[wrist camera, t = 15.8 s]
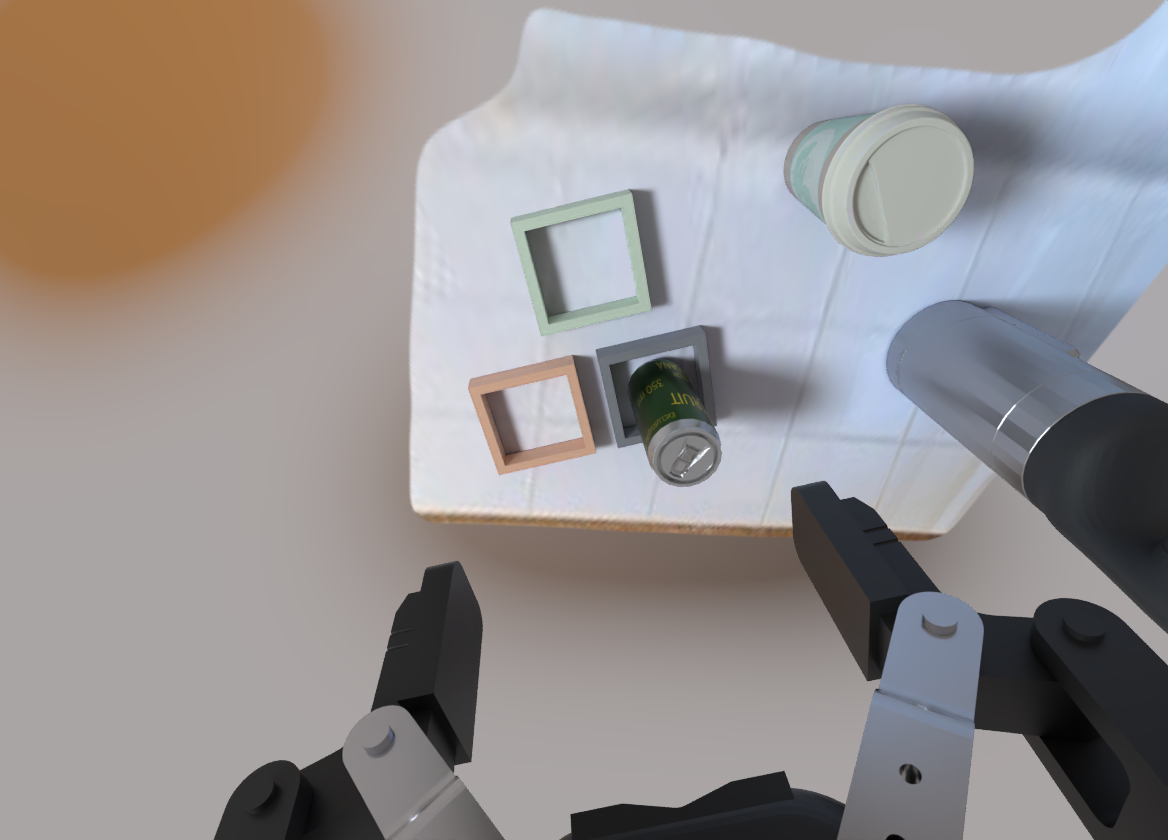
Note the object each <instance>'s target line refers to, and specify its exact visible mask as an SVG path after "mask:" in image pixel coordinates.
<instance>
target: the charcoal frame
mask: <svg viewBox="0 0 1168 840" xmlns="http://www.w3.org/2000/svg"><path fill="white" fill-rule="evenodd" d="M692 345H693V348H694V355H695V363H696V370H697V377H698V385H699V392H700V399H701V403H702V404H703V406H704V408H705V410H706V412H707V414H708V416H709V418H710V420H711V421H712V423H713V425H714V426H717V422H716V414H715V406H714V398H713V390H712V382H711V374H710V366H709V358H708V349H707V341H706V333H705V332H704V330H703V329H702V327H701V326H695V327H691V328H687V329H682V330H678V331H674V332H670V333H665V334H661V335H657V336H652V337H648V338H644V339H640V340H635V341H631V342H627V343H623V344H618V345H614V346H610V347H605V348H601V349H597V350H596V354H597V358H598V362H599V367H600V371H601V376H602V380H603V385H604V389H605V393H606V398H607V402H608V407H609V411H610V415H611V420H612V424H613V429H614V433H615V438H616V442H617V446H618V448H621V447H625V446H630V445H634V444H638V443H643V441H642V438H641V434H640V431H639V428H638V425H636V426H631V427H627V428H623V427H622V422H621V417H620V413H619V408H618V404H617V399H616V394H615V390H614V385H613V380H612V376H611V371H610V367H609V365H610V364H615V363H619V362H623V361H628V360H632V359H636V358H641V357H645V356H649V355H653V354H658V353H662V352H666V351H671V350H675V349H679V348H684V347H688V346H692Z"/></svg>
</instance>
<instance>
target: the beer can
mask: <svg viewBox="0 0 1168 840" xmlns="http://www.w3.org/2000/svg"><path fill="white" fill-rule="evenodd" d="M628 396H629V399H630V402H631V405H632V409H633V412H634V415H635V418H636V422H637V425H638V428H639V431H640V434H641V438H642V441H643V444H644V447H645V451H646V454H647V457H648V460H649V464H650V466H651V468H652V469H653V470H654V471H655V473H656V474H657V475H658V476H659V477H660V479H661V480H663V481H664V482H666V483H668V484H669V485H673V486H678V487H688V486H693V485H696V484H699V483H701V482H703V481H705V480H706V479H708V478H709V477H710V476H711V475H712V474H713V473H714V472H715V471H716V470H717V468H718V466H719V464H720V462H721V455H722V452H721V442H720V438H719V435H718V433H717V431H716V429H715V427H714V425H713V423H712V421H711V420H710V418H709V416H708V414H707V412H706V410H705V408H704V406H703V404H702V403H701V401H700V399H699V397H698V395H697V393H696V391H695V389H694V387H693V385H692V384H691V382H690V380H689V378H688V376H687V374H686V373H685V371H684V370H683V368H682V367H681V366H679V365H678V364H676V363H675V362H672V361H669V360H665V359H655V360H651V361H648V362H645V363H644V364H642V365H641V366H639V367H638V368H637V370H636V371H635V372H634V373H633V374H632V376H631V378H630V381H629V383H628Z"/></svg>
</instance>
